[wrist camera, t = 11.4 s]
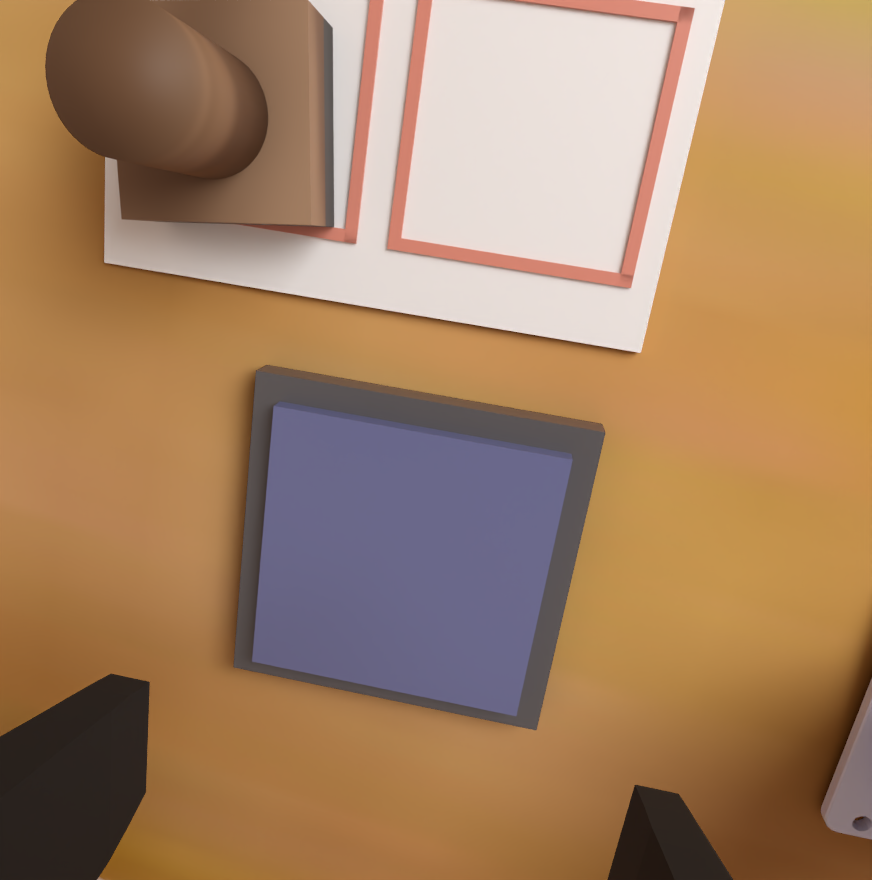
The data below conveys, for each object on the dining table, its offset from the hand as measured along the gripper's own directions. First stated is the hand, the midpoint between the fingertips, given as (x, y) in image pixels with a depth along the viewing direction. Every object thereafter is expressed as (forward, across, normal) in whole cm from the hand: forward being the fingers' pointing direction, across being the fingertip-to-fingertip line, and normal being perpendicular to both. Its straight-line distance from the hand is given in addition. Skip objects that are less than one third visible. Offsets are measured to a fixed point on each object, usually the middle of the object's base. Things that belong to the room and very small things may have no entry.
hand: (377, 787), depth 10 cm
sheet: (+10, +3, -10) cm, 14 cm away
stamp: (+10, +6, -9) cm, 15 cm away
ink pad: (+10, +1, +1) cm, 10 cm away
